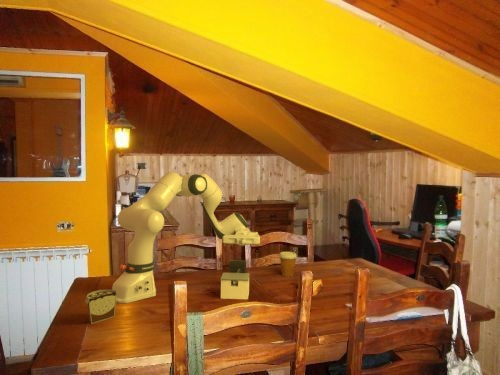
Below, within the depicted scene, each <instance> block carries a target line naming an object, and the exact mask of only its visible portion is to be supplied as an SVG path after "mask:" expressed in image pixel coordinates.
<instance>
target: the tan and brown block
mask: <svg viewBox="0 0 500 375" xmlns="http://www.w3.org/2000/svg"><path fill="white" fill-rule="evenodd" d="M116 295H117V296H118V294H117V291H116V290H112V289H98V290H94V291H91V292H89V293H87V295H86V298H85V300H84V302H85V304H86V305H87V311H88V320H89V324H91V325H93V324H96V323H100V322H102V321H105V320H106V321H107V320H109V319H112V318H115V316H116V315H115V313H116V304H117V302H116Z"/></svg>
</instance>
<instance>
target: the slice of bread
mask: <svg viewBox="0 0 500 375" xmlns="http://www.w3.org/2000/svg"><path fill="white" fill-rule="evenodd" d="M313 281H314V282H313V295H312V296H316V295H317V294H318V293H320V291H321V289H322V288H323V286H324V285H323V280H322V279H316V280H315V279H314V280H313ZM312 296H311V297H312Z"/></svg>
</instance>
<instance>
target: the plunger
mask: <svg viewBox="0 0 500 375" xmlns="http://www.w3.org/2000/svg"><path fill="white" fill-rule="evenodd" d="M228 263H229V264H228V265H229V267H228V269H229V270H228V271H229V272H228V273H247V260H245V259H244V260H242V259H239V260H237V259H229V262H228ZM233 284H234V285H235V284H237V281H233Z"/></svg>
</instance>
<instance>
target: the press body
mask: <svg viewBox="0 0 500 375" xmlns="http://www.w3.org/2000/svg"><path fill="white" fill-rule="evenodd" d="M233 281H237V284H235V285H234V284H233ZM249 294H250V272H246V273H229V272H222V275H221V277H220V299H224V300H225V299H226V300H228V299H231V300H249V296H250V295H249Z"/></svg>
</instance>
